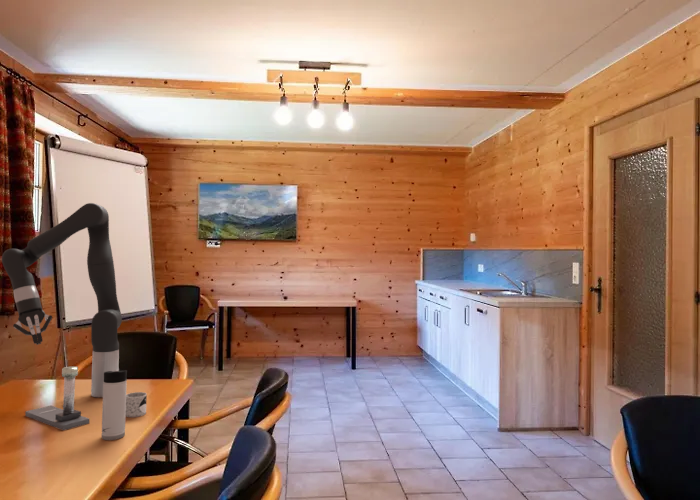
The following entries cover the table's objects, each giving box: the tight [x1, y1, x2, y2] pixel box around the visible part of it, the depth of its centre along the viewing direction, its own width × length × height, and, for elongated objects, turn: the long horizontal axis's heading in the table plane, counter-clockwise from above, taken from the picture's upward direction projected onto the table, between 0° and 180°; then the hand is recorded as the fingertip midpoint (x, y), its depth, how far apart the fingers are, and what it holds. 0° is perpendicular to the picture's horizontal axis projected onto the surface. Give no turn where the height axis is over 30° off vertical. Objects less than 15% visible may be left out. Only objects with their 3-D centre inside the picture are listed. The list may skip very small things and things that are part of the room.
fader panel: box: [24, 405, 90, 431], centre depth 154 cm, size 24×8×2 cm, turn 59°
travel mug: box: [101, 369, 128, 441], centre depth 140 cm, size 6×7×20 cm
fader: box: [55, 365, 82, 422], centre depth 150 cm, size 4×6×16 cm
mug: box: [125, 391, 148, 418], centre depth 162 cm, size 10×7×7 cm
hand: (38, 344), depth 174 cm, fingers closed
